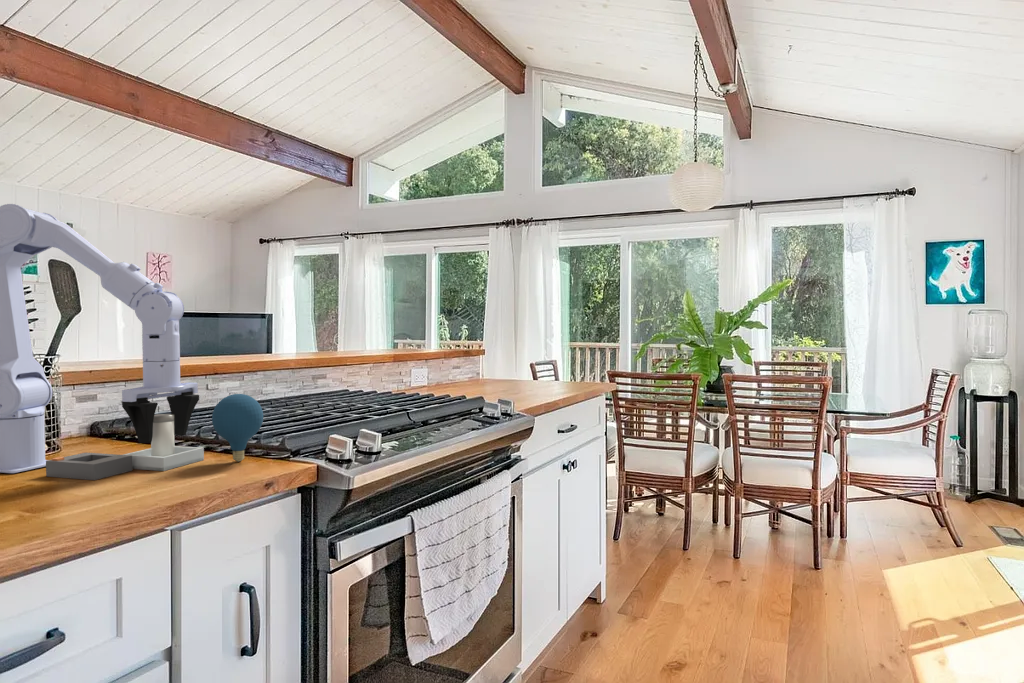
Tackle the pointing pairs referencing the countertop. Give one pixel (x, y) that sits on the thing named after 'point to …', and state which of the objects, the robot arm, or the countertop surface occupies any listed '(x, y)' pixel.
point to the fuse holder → (88, 466)
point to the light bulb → (237, 421)
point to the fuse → (163, 435)
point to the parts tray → (166, 458)
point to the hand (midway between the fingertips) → (163, 438)
